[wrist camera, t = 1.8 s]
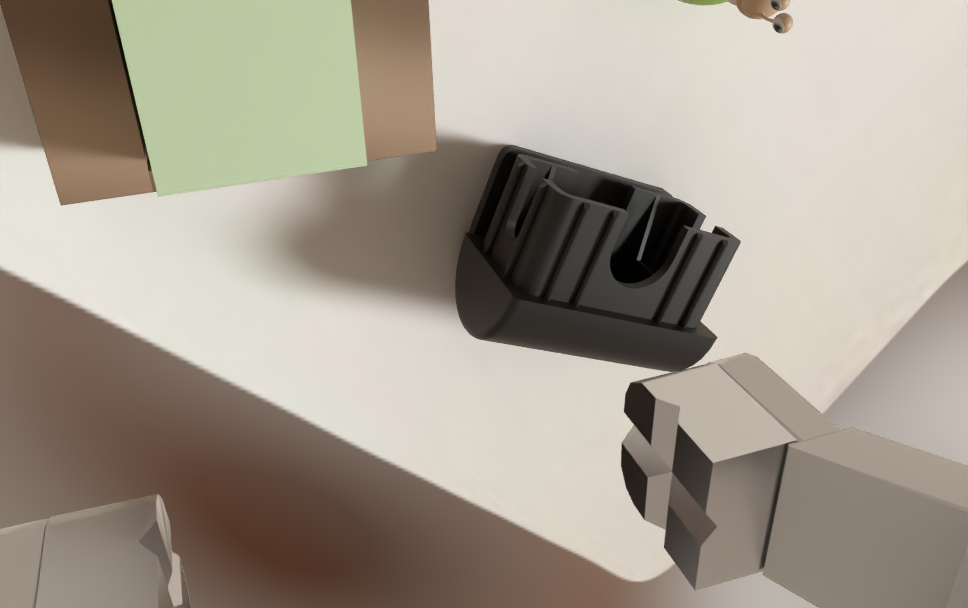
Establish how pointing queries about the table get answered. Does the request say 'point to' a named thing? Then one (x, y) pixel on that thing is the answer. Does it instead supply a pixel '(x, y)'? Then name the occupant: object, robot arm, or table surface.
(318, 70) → the sage key
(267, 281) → the table surface
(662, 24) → the table surface
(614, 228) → the end cap
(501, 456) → the table surface
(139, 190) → the key panel
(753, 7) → the snail figurine
